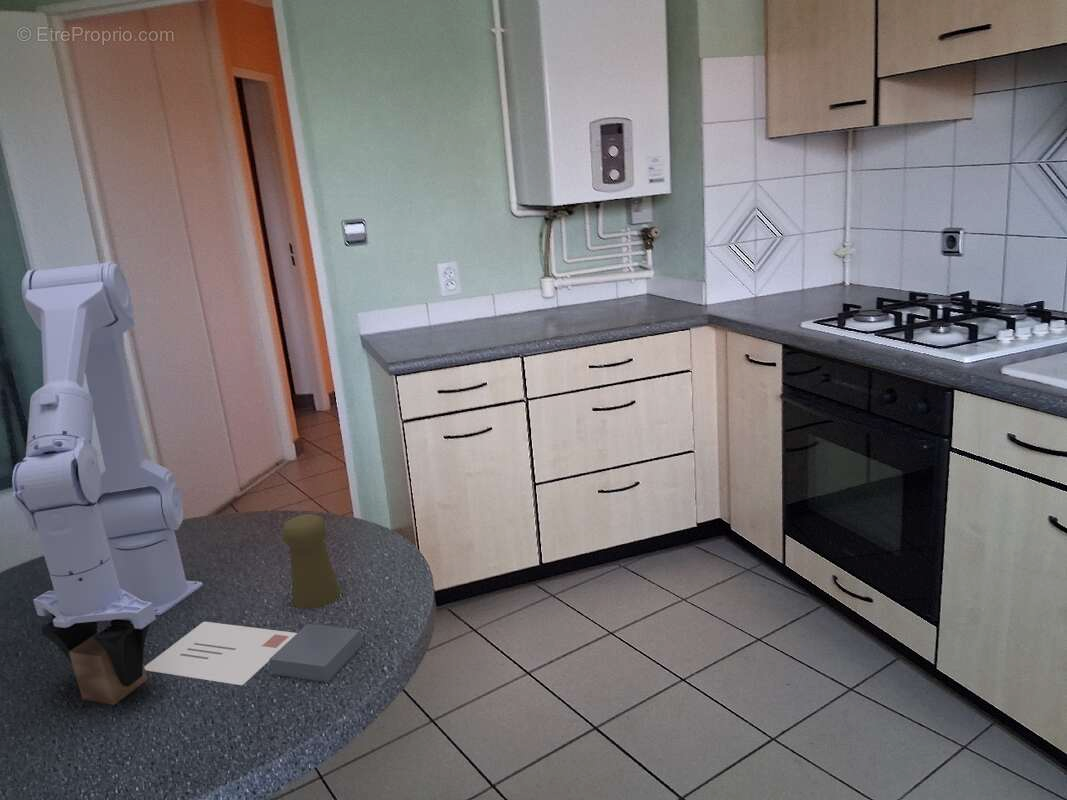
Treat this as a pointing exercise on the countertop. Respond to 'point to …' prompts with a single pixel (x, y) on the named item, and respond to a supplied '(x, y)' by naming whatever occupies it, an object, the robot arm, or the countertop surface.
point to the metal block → (316, 652)
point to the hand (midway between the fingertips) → (112, 677)
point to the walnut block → (99, 673)
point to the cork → (310, 562)
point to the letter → (220, 653)
